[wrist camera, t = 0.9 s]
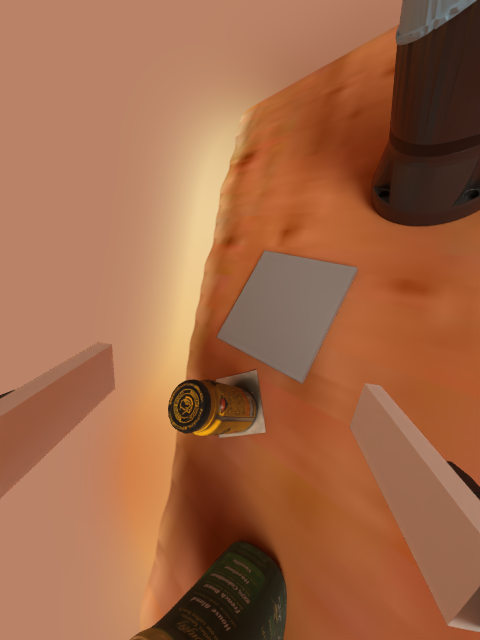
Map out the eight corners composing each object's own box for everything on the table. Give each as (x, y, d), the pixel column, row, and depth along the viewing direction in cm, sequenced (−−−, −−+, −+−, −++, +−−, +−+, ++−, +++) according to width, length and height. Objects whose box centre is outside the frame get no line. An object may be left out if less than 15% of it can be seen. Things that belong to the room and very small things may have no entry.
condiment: (219, 437, 32) (158, 445, 23) (216, 379, 36) (162, 364, 27) (266, 432, 30) (219, 437, 20) (257, 370, 34) (214, 348, 24)
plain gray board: (266, 253, 41) (264, 250, 41) (357, 271, 32) (357, 267, 31) (219, 338, 39) (216, 337, 38) (302, 383, 30) (301, 382, 29)
